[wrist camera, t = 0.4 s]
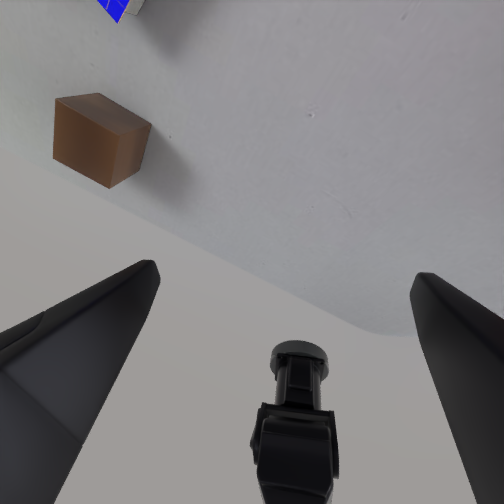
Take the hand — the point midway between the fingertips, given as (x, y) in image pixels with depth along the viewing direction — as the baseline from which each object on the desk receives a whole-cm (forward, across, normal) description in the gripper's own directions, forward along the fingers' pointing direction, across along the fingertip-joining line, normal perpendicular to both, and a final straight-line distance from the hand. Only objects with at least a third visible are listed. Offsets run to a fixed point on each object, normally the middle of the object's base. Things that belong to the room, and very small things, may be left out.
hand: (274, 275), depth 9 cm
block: (+12, +13, -3) cm, 18 cm away
